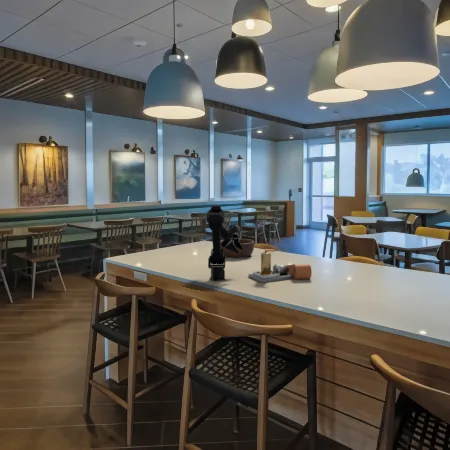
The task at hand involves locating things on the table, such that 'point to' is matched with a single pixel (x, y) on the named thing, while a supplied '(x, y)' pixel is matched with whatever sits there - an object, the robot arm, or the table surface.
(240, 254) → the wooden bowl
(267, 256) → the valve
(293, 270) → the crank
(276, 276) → the socket plate
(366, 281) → the table surface
